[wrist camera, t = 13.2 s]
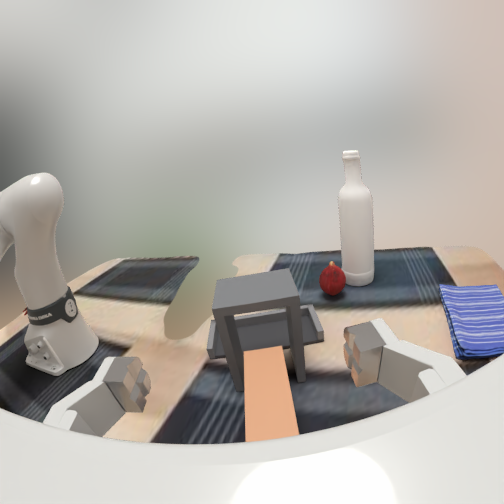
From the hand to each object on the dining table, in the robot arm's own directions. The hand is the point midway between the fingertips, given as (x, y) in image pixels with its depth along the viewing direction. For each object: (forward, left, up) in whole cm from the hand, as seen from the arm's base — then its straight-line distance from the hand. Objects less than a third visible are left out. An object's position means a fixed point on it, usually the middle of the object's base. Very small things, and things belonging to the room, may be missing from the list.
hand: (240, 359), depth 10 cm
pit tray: (0, +33, -25) cm, 41 cm away
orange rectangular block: (0, +10, -25) cm, 27 cm away
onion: (+16, +43, -25) cm, 52 cm away
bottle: (+24, +48, -25) cm, 59 cm away
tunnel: (0, +24, -25) cm, 35 cm away
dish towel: (+42, +21, -25) cm, 53 cm away
